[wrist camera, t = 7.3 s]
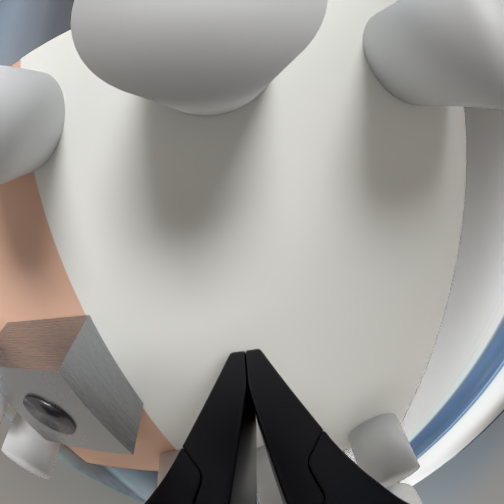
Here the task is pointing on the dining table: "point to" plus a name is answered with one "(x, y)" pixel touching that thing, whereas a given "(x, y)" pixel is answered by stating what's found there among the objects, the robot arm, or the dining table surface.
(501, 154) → the dining table surface
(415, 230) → the board
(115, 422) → the nut
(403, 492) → the teacup
